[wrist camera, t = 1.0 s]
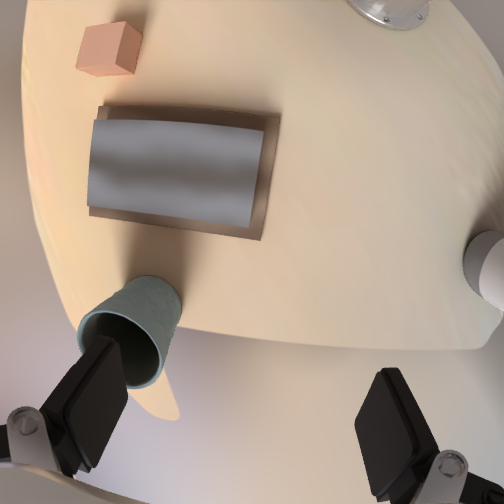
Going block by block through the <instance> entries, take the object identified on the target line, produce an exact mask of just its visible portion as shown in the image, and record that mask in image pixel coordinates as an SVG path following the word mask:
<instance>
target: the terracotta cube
mask: <svg viewBox="0 0 504 504" xmlns="http://www.w3.org/2000/svg"><path fill="white" fill-rule="evenodd" d="M142 38H143V36H142V35H141V34H140V33H139V32H138V31H137V30H136V29H134V28H133V27H132V26H131V25H130V24H129V23H128V22H126V21H123V22H115V23H108V24H101V25H95V26H90V27H86V29H85V32H84V36H83V39H82V43H81V47H80V51H79V55H78V59H77V63H76V67H75V68H76V69H79V70H81V71H84V72H86V73H89V74H92V75H94V76H97V77H100V76H115V75H134V72H135V68H136V63H137V58H138V54H139V50H140V46H141V42H142Z"/></svg>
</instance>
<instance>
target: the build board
mask: <svg viewBox="0 0 504 504" xmlns="http://www.w3.org/2000/svg"><path fill="white" fill-rule="evenodd" d="M279 123H280V118H274V117H268V116H261V115H254V114H247V113H239V112H230V111H221V110H211V109H199V108H185V107H167V106H99V108H98V114H97V120H94V125H93V133H92V141H91V151H90V162H89V175H88V193H87V206H89V216H94V217H102V218H109V219H116V220H123V221H130V222H137V223H144V224H151V225H158V226H165V227H172V228H179V229H186V230H192V231H199V232H206V233H212V234H219V235H226V236H232V237H239V238H245V239H252V240H258V241H261V235H262V229H263V223H264V216H265V210H266V204H267V198H268V192H269V186H270V179H271V173H272V167H273V161H274V155H275V148H276V142H277V136H278V129H279Z"/></svg>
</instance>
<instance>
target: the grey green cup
mask: <svg viewBox="0 0 504 504" xmlns="http://www.w3.org/2000/svg"><path fill="white" fill-rule="evenodd" d="M180 317H181V302H180V299H179V297H178V295H177V293H176V291H175V290H174V289H173V288H172V287H171V286H170V285H169V284H168V283H167V282H165V281H164V280H162V279H160V278H158V277H154V276H140V277H137V278H134V279H133V280H131V281H130V282H129V283H127V284H126V285H125V287H124V288H123V289H121V290H119V291H118V292H115V293H114V295H113V296H112V297H110V298H108V299H107V300H105V301H104V302H102V303H101V304H99V305H98V306H97V307H96V308H94V309H93V310H92V311H90V312H89V313H88V314H86V315H85V316H84V317H83V319H82V320H81V323H80V325H79V327H78V331H77V342H78V346H79V349H80V352H81V354H82V355H83V354H84V352H85V351H86V350H87V349H88V347H89V346H90V345H91V344H92V342H93V341H94V340H95V339H96V338H97V336H99V335H102V336H106V337H111V338H114V339H115V342H116V343H118V344H119V347H120V353H121V360H122V366H123V371H124V377H125V382H126V387H127V389H141V388H145V387H147V386H150V385H151V384H153V383H154V382H155V381H156V380H157V379H158V377H159V376H160V374H161V372H162V369H163V366H164V362H165V359H166V356H167V353H168V348H169V345H170V342H171V339H172V337H173V335H174V331H175V328H176V326H177V324H178V323H179V320H180Z"/></svg>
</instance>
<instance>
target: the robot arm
mask: <svg viewBox="0 0 504 504" xmlns="http://www.w3.org/2000/svg"><path fill="white" fill-rule="evenodd" d="M347 1H348V2H349V3H350V5H351V6H352V7H353V8H354V9H355V10H356V11H358V12H359V13H360V14H361V15H363V16H364V17H366V18H367V19H368V20H370V21H372V22H374V23H376V24H378V25H381V26H383V27H386V28H390V29H394V30H410V29H413V28H416V27H417V26H419V25H420V24H422V23H423V22H424V21H425V19H426V17H427V16H428V11H429V6H428V2H430V1H431V0H347ZM127 400H128V392H127V387H126V382H125V377H124V371H123V366H122V360H121V353H120V347H119V344H118V343H116V342H115V339H114V338H111V337H106V336H102V335H99V336H97V338H96V339H95V340H94V341H93V342H92V344H91V345H90V346H89V347H88V349H87V350H86V351H85V352H84V354H83V355H82V356H81V358H80V359H79V360H78V361H77V363H76V364H74V365H73V366H72V367H71V368H70V369H69V371H68V372H67V373H66V375H65V376H64V377H63V379H62V380H61V381H60V383H59V384H58V385H57V386H56V388H55V389H54V390H53V392H52V393H51V395H50V396H49V397H48V398H47V400H46V401H45V403H44V404H43V405H42V407H41V408H40V409H39V410H37V409H35V408H33V407H29V406H28V407H27V406H25V407H20V408H17V409H15V410H14V411H12V412H11V413H10V415H9V416H8V419H7V424H5V425H0V504H149V503H145V502H141V501H138V500H134V499H131V498H128V497H124V496H121V495H118V494H115V493H112V492H108V491H105V490H103V489H100V488H97V487H94V486H91V485H89V484H86V483H83V482H81V481H78V480H77V479H76V477H75V474H76V473H77V471H78V469H79V470H81V471H84V472H86V473H89V472H90V470H91V468H92V467H93V468H95V467H96V466H97V465H98V462H99V460H100V458H101V456H102V454H103V451H104V449H105V447H106V445H107V443H108V441H109V439H110V437H111V434H112V432H113V430H114V428H115V426H116V424H117V422H118V420H119V418H120V415H121V414H122V412H123V410H124V407H125V406H126V403H127ZM355 430H356V434H357V437H358V441H359V445H360V449H361V453H362V456H363V460H364V464H365V468H366V472H367V476H368V480H369V484H370V489H371V493H372V495H373V496H376V498H377V502H383V501H388V500H390V503H391V504H504V489H503V488H502V487H501V486H500V485H498V484H496V483H493V482H491V481H488V480H486V479H484V478H481V477H479V476H477V475H474V474H472V473H470V472H468V467H469V466H468V463H467V460H466V459H465V457H464V456H463V455H462V454H461V453H459V452H457V451H454V450H444V451H441V452H440V451H439V449H438V445H437V443H436V441H435V439H434V437H433V435H432V433H431V430H430V428H429V426H428V424H427V422H426V420H425V418H424V416H423V414H422V412H421V410H420V408H419V406H418V404H417V402H416V400H415V398H414V397H413V394H412V392H411V391H410V389H409V387H408V385H407V383H406V381H405V379H404V377H403V375H402V374H401V372H400V370H399V369H398V368H383V369H382V370H381V371H380V372H377V374H376V376H375V378H374V381H373V383H372V385H371V388H370V389H369V392H368V394H367V396H366V398H365V400H364V403H363V405H362V407H361V409H360V411H359V413H358V415H357V417H356V419H355Z"/></svg>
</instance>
